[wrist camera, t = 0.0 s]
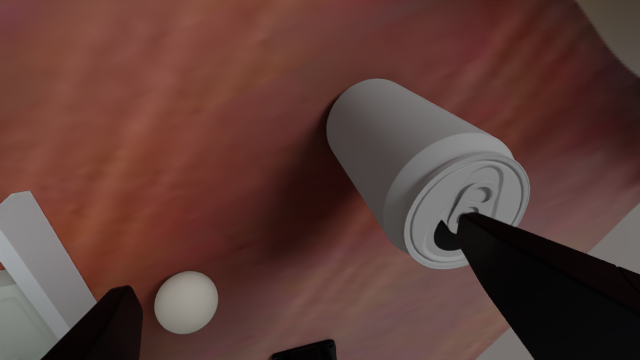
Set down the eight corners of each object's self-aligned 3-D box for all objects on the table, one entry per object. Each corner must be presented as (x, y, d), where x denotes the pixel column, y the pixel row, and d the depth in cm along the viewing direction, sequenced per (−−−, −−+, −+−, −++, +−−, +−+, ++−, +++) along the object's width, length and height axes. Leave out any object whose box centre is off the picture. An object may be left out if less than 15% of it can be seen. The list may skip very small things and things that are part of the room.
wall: (132, 362, 30) (122, 403, 27) (120, 365, 30) (108, 406, 27) (29, 190, 21) (-4, 223, 18) (11, 193, 21) (-25, 227, 18)
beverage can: (314, 157, 24) (376, 278, 14) (336, 66, 22) (432, 135, 11) (392, 166, 26) (496, 278, 16) (421, 84, 24) (568, 156, 13)
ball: (224, 292, 29) (223, 338, 25) (169, 305, 28) (160, 353, 24) (211, 253, 26) (208, 297, 23) (152, 265, 26) (139, 313, 22)
